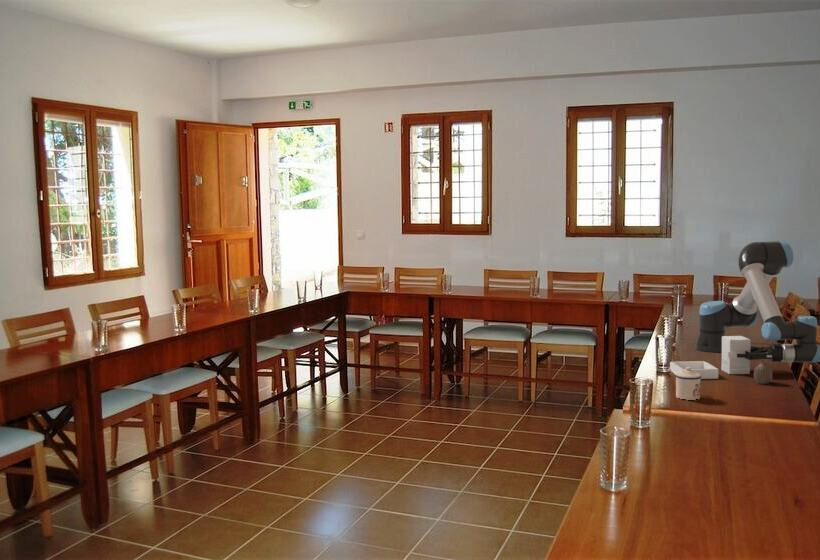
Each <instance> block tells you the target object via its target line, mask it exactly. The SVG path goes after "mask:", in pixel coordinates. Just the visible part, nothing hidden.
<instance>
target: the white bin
mask: <svg viewBox="0 0 820 560" xmlns="http://www.w3.org/2000/svg"><path fill="white" fill-rule="evenodd" d="M686 367H690V368H691V370H693V371H695V372H697V373H699V374H700V375H701V380H706V379H707V380H708V379H709V380H712V379H715V380H717V379H718V380H719V368H717V367H716V366H714V365H713V364H711V363H708V362H707V361H705V360H704V361H703V360H696V361H693V360H691V361H669V370H670V369H671V371H672V372H673V373H674V374H673V373H672V372H671V371H670V372H671V373H672V374H673V375H675V376H676V373H677V372H681V371H683V370H686Z"/></svg>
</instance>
